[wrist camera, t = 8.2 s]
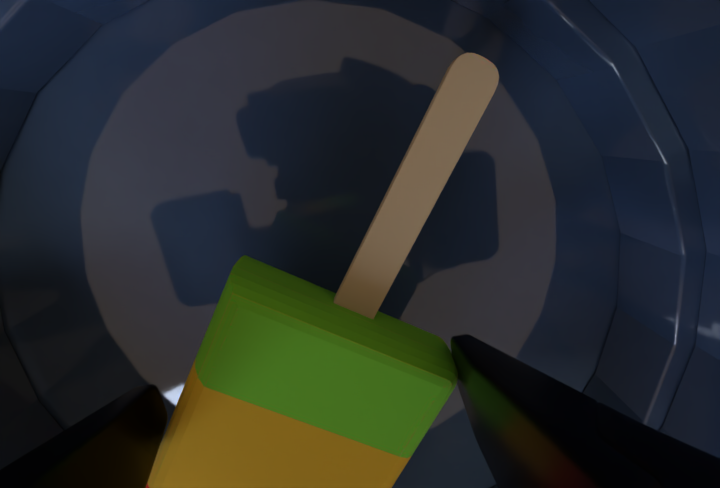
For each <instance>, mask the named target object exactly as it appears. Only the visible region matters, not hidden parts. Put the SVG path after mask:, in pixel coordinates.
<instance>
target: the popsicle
mask: <svg viewBox="0 0 720 488" xmlns="http://www.w3.org/2000/svg"><path fill="white" fill-rule="evenodd" d="M498 81H499V74H498V70H497V68H496V67H495V65H494V64H493V63H492V62H490V61H489V60H488V59H486V58H484V57H482V56H480V55H478V54H475V53H465V54H462V55H460V56H459V57H457V58H456V59H455V60H454V61H453V62H452V63H451V64H450V66H449V68H448V69H447V71H446V73H445V75H444V77H443V79H442V81H441V83H440V85H439V87H438V89H437V91H436V93H435V95H434V97H433V99H432V101H431V103H430V105H429V107H428V109H427V111H426V113H425V116H424V118H423V120H422V122H421V124H420V126H419V128H418V130H417V132H416V134H415V136H414V138H413V140H412V142H411V144H410V146H409V148H408V150H407V152H406V154H405V156H404V158H403V160H402V162H401V164H400V166H399V168H398V170H397V172H396V174H395V176H394V178H393V180H392V182H391V184H390V186H389V188H388V190H387V192H386V194H385V196H384V198H383V200H382V202H381V204H380V206H379V208H378V210H377V212H376V214H375V216H374V218H373V220H372V222H371V225H370V227H369V229H368V231H367V233H366V235H365V237H364V239H363V241H362V243H361V245H360V247H359V249H358V251H357V253H356V255H355V257H354V259H353V261H352V263H351V265H350V267H349V269H348V271H347V273H346V275H345V277H344V279H343V281H342V283H341V285H340V287H339V289H338V291H337V293H334V292H332V291H329V290H327V289H324V288H322V287H320V286H317V285H315V284H313V283H310V282H308V281H305V280H303V279H301V278H298V277H296V276H294V275H291V274H289V273H286V272H284V271H282V270H279V269H277V268H275V267H272V266H270V265H267V264H265V263H263V262H260V261H258V260H255V259H253V258H251V257H248V256H246V255H244V256H242V257H241V258H240V259H239V260H238V261H237V262H236V264H235V265H234V266H233V268H232V270H231V272H230V275H229V277H228V280H227V282H226V285H225V287H224V289H223V292H222V294H221V297H220V299H219V302H218V304H217V307H216V309H215V312H214V314H213V316H212V319H211V321H210V324H209V326H208V329H207V331H206V334H205V336H204V339H203V341H202V344H201V346H200V348H199V351H198V353H197V356H196V358H195V361H194V363H193V366H192V368H191V370H190V373H189V375H188V378H187V380H186V383H185V385H184V388H183V390H182V393H181V395H180V398H179V400H178V402H177V405H176V407H175V410H174V412H173V415H172V417H171V420H170V422H169V425H168V427H167V429H166V432H165V434H164V437H163V439H162V442H161V444H160V447H159V450H158V453H157V456H156V459H155V462H154V465H153V468H152V471H151V474H150V477H149V480H148V483H147V485H146V488H392V486H393V485H394V483H395V481H396V480H397V478H398V477H399V475H400V474H401V472H402V470H403V469H404V467H405V466H406V464H407V463H408V461H409V459H410V458H411V456H412V455H413V453H414V451H415V450H416V448H417V447H418V445H419V443H420V442H421V440H422V439H423V437H424V436H425V434H426V432H427V431H428V429H429V428H430V426H431V425H432V423H433V421H434V420H435V418H436V417H437V415H438V413H439V412H440V410H441V409H442V407H443V406H444V404H445V402H446V401H447V399H448V398H449V396H450V395H451V393H452V391H453V390H454V388H455V386H456V384H457V381H458V372H457V368H456V366H455V363H454V360H453V358H452V354H451V351H450V349H449V348H448V346H447V344H446V343H445V342H444V340H443V339H441V338H440V337H438V336H436V335H434V334H431V333H429V332H427V331H424V330H422V329H420V328H417V327H415V326H412V325H410V324H408V323H405V322H403V321H401V320H398V319H396V318H393V317H391V316H389V315H386V314H384V313H382V312H379V311H378V309H379V307H380V306H381V304H382V302H383V300H384V298H385V296H386V294H387V292H388V291H389V289H390V287H391V285H392V283H393V281H394V279H395V278H396V276H397V274H398V272H399V270H400V268H401V266H402V264H403V263H404V261H405V259H406V257H407V255H408V253H409V251H410V249H411V248H412V246H413V244H414V242H415V240H416V238H417V236H418V235H419V233H420V231H421V229H422V227H423V225H424V223H425V221H426V220H427V218H428V216H429V214H430V212H431V210H432V208H433V206H434V205H435V203H436V201H437V199H438V197H439V195H440V193H441V191H442V190H443V188H444V186H445V184H446V182H447V180H448V178H449V177H450V175H451V173H452V171H453V169H454V167H455V165H456V163H457V162H458V160H459V158H460V156H461V154H462V152H463V150H464V148H465V147H466V145H467V143H468V141H469V139H470V137H471V135H472V133H473V132H474V130H475V128H476V126H477V124H478V122H479V120H480V119H481V117H482V115H483V113H484V111H485V109H486V107H487V105H488V104H489V102H490V100H491V98H492V96H493V94H494V92H495V90H496V88H497V85H498Z"/></svg>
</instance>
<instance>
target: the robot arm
mask: <svg viewBox="0 0 720 488" xmlns="http://www.w3.org/2000/svg"><path fill="white" fill-rule="evenodd" d="M450 344H451V354H452V358H453V360H454V363H455V366H456V368H457V372H458V381H457V385H458V388H459V391H460V394H461V397H462V400H463V403H464V406H465V409H466V412H467V415H468V418H469V421H470V424H471V427H472V430H473V433H474V436H475V438H476V441H477V443H478V445H479V448H480V450H481V452H482V454H483V456H484V458H485V460H486V463H487V465H488V467H489V469H490V471H491V473H492V475H493V478H494V480H495V482H496V484H497V486H498V488H720V458H719V457H716V456H714V455H712V454H709V453H707V452H705V451H703V450H700V449H698V448H696V447H693V446H691V445H689V444H687V443H684V442H682V441H680V440H678V439H675V438H673V437H671V436H669V435H667V434H664V433H662V432H660V431H658V430H656V429H653V428H651V427H649V426H647V425H645V424H643V423H641V422H639V421H637V420H635V419H633V418H631V417H629V416H627V415H625V414H623V413H621V412H619V411H617V410H615V409H613V408H611V407H609V406H607V405H605V404H603V403H601V402H598V403H597V401H596V400H595V399H593V398H591V397H589V396H587V395H585V394H584V393H582V392H580V391H578V390H576V389H574V388H572V387H570V386H568V385H566V384H564V383H562V382H560V381H558V380H556V379H554V378H553V377H551V376H549V375H547V374H545V373H543V372H541V371H539V370H537V369H535V368H533V367H531V366H529V365H527V364H525V363H524V362H522V361H520V360H518V359H516V358H514V357H512V356H510V355H508V354H506V353H504V352H502V351H500V350H498V349H496V348H494V347H493V346H491V345H489V344H487V343H485V342H483V341H481V340H479V339H477V338H475V337H473V336H471V335H469V334H463V335H457V336H453V337H451V340H450ZM167 420H168V415H167V410H166V408H165V405H164V402H163V400H162V397H161V394H160V391H159V389H158V387H157V386H156V385H154V384H149V385H142V386H137V387H135V388H133V389H131V390H130V391H128V392H126V393H125V394H123V395H121V396H120V397H118V398H116V399H115V400H113V401H112V402H110V403H108V404H107V405H105V406H103V407H102V408H100V409H99V410H97V411H95V412H94V413H92V414H90V415H89V416H87V417H85V418H84V419H82V420H81V421H79V422H77V423H76V424H74V425H72V426H71V427H69V428H67V429H66V430H64V431H63V432H61V433H59V434H58V435H56V436H54V437H53V438H51V439H49V440H48V441H46V442H45V443H43V444H41V445H40V446H38V447H36V448H35V449H33V450H32V451H30V452H28V453H27V454H25V455H23V456H22V457H20V458H18V459H17V460H15V461H14V462H12V463H10V464H9V465H7V466H5V467H4V468H2V469H0V488H146V485H147V483H148V480H149V477H150V474H151V471H152V468H153V465H154V462H155V459H156V456H157V453H158V450H159V447H160V443H161V440H162V437H163V434H164V431H165V428H166V425H167Z"/></svg>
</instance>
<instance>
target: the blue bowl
mask: <svg viewBox="0 0 720 488" xmlns="http://www.w3.org/2000/svg"><path fill="white" fill-rule="evenodd" d="M465 53H475V54H478V55H480V56H482V57H484V58H486V59H488V60H489V61H490V62H492V63H493V64H494V65H495V67H496V68H497V70H498V74H499V81H498V85H497V88H496V90H495V92H494V94H493V96H492V98H491V100H490V102H489V104H488V105H487V107H486V109H485V111H484V113H483V115H482V117H481V119H480V120H479V122H478V124H477V126H476V128H475V130H474V132H473V133H472V135H471V137H470V139H469V141H468V143H467V145H466V147H465V148H464V150H463V152H462V154H461V156H460V158H459V160H458V162H457V163H456V165H455V167H454V169H453V171H452V173H451V175H450V177H449V178H448V180H447V182H446V184H445V186H444V188H443V190H442V191H441V193H440V195H439V197H438V199H437V201H436V203H435V205H434V206H433V208H432V210H431V212H430V214H429V216H428V218H427V220H426V221H425V223H424V225H423V227H422V229H421V231H420V233H419V235H418V236H417V238H416V240H415V242H414V244H413V246H412V248H411V249H410V251H409V253H408V255H407V257H406V259H405V261H404V263H403V264H402V266H401V268H400V270H399V272H398V274H397V276H396V278H395V279H394V281H393V283H392V285H391V287H390V289H389V291H388V292H387V294H386V296H385V298H384V300H383V302H382V304H381V306H380V307H379V309H378V311H379V312H382V313H384V314H386V315H389V316H391V317H393V318H396V319H398V320H401V321H403V322H405V323H408V324H410V325H412V326H415V327H417V328H420V329H422V330H424V331H427V332H429V333H431V334H434V335H436V336H438V337H440V338H441V339H443V340H444V342H445V343H446V344H447V346H448V348H449V349H450V351H451V344H450V340H451V337H453V336H457V335H463V334H469V335H471V336H473V337H475V338H477V339H479V340H481V341H483V342H485V343H487V344H489V345H491V346H493V347H494V348H496V349H498V350H500V351H502V352H504V353H506V354H508V355H510V356H512V357H514V358H516V359H518V360H520V361H522V362H524V363H525V364H527V365H529V366H531V367H533V368H535V369H537V370H539V371H541V372H543V373H545V374H547V375H549V376H551V377H553V378H554V379H556V380H558V381H560V382H562V383H564V384H566V385H568V386H570V387H572V388H574V389H576V390H578V391H580V392H582V393H584V394H585V395H587V396H589V397H591V398H593V399H595V400H596V401H597V403H598V402H601V403H603V404H605V405H607V406H609V407H611V408H613V409H615V410H617V411H619V412H621V413H623V414H625V415H627V416H629V417H631V418H633V419H635V420H637V421H639V422H641V423H643V424H645V425H647V426H649V427H651V428H653V429H656V430H658V431H660V432H662V433H664V434H667V435H669V436H671V437H673V438H675V439H678V440H680V441H682V442H684V443H687V444H689V445H691V446H693V447H696V448H698V449H700V450H703V451H705V452H707V453H709V454H712V455H714V456H716V457H719V458H720V0H0V469H2V468H4V467H5V466H7V465H9V464H10V463H12V462H14V461H15V460H17V459H18V458H20V457H22V456H23V455H25V454H27V453H28V452H30V451H32V450H33V449H35V448H36V447H38V446H40V445H41V444H43V443H45V442H46V441H48V440H49V439H51V438H53V437H54V436H56V435H58V434H59V433H61V432H63V431H64V430H66V429H67V428H69V427H71V426H72V425H74V424H76V423H77V422H79V421H81V420H82V419H84V418H85V417H87V416H89V415H90V414H92V413H94V412H95V411H97V410H99V409H100V408H102V407H103V406H105V405H107V404H108V403H110V402H112V401H113V400H115V399H116V398H118V397H120V396H121V395H123V394H125V393H126V392H128V391H130V390H131V389H133V388H135V387H137V386H142V385H149V384H154V385H156V386H157V387H158V389H159V391H160V394H161V397H162V400H163V402H164V405H165V408H166V410H167V415H168V420H167V425H166V428H165V431H164V434H165V432H166V429H167V427H168V425H169V422H170V420H171V417H172V415H173V412H174V410H175V407H176V405H177V402H178V400H179V398H180V395H181V393H182V390H183V388H184V385H185V383H186V380H187V378H188V375H189V373H190V370H191V368H192V366H193V363H194V361H195V358H196V356H197V353H198V351H199V348H200V346H201V344H202V341H203V339H204V336H205V334H206V331H207V329H208V326H209V324H210V321H211V319H212V316H213V314H214V312H215V309H216V307H217V304H218V302H219V299H220V297H221V294H222V292H223V289H224V287H225V285H226V282H227V280H228V277H229V275H230V272H231V270H232V268H233V266H234V265H235V264H236V262H237V261H238V260H239V259H240V258H241V257H242V256H244V255H246V256H248V257H251V258H253V259H255V260H258V261H260V262H263V263H265V264H267V265H270V266H272V267H275V268H277V269H279V270H282V271H284V272H286V273H289V274H291V275H294V276H296V277H298V278H301V279H303V280H305V281H308V282H310V283H313V284H315V285H317V286H320V287H322V288H324V289H327V290H329V291H332V292H334V293H337V291H338V289H339V287H340V285H341V283H342V281H343V279H344V277H345V275H346V273H347V271H348V269H349V267H350V265H351V263H352V261H353V259H354V257H355V255H356V253H357V251H358V249H359V247H360V245H361V243H362V241H363V239H364V237H365V235H366V233H367V231H368V229H369V227H370V225H371V222H372V220H373V218H374V216H375V214H376V212H377V210H378V208H379V206H380V204H381V202H382V200H383V198H384V196H385V194H386V192H387V190H388V188H389V186H390V184H391V182H392V180H393V178H394V176H395V174H396V172H397V170H398V168H399V166H400V164H401V162H402V160H403V158H404V156H405V154H406V152H407V150H408V148H409V146H410V144H411V142H412V140H413V138H414V136H415V134H416V132H417V130H418V128H419V126H420V124H421V122H422V120H423V118H424V116H425V113H426V111H427V109H428V107H429V105H430V103H431V101H432V99H433V97H434V95H435V93H436V91H437V89H438V87H439V85H440V83H441V81H442V79H443V77H444V75H445V73H446V71H447V69H448V68H449V66H450V64H451V63H452V62H453V61H454V60H455V59H456V58H457V57H459V56H460V55H462V54H465ZM164 434H163V437H164ZM163 437H162V439H163ZM161 442H162V440H161ZM160 444H161V443H160ZM392 488H498V486H497V484H496V482H495V480H494V478H493V475H492V473H491V471H490V469H489V467H488V465H487V463H486V460H485V458H484V456H483V454H482V452H481V450H480V448H479V445H478V443H477V441H476V438H475V436H474V433H473V430H472V427H471V424H470V421H469V418H468V415H467V412H466V409H465V406H464V403H463V400H462V397H461V394H460V391H459V388H458V385H457V384H456V386H455V388H454V390H453V391H452V393H451V395H450V396H449V398H448V399H447V401H446V402H445V404H444V406H443V407H442V409H441V410H440V412H439V413H438V415H437V417H436V418H435V420H434V421H433V423H432V425H431V426H430V428H429V429H428V431H427V432H426V434H425V436H424V437H423V439H422V440H421V442H420V443H419V445H418V447H417V448H416V450H415V451H414V453H413V455H412V456H411V458H410V459H409V461H408V463H407V464H406V466H405V467H404V469H403V470H402V472H401V474H400V475H399V477H398V478H397V480H396V481H395V483H394V485H393V486H392Z"/></svg>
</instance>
